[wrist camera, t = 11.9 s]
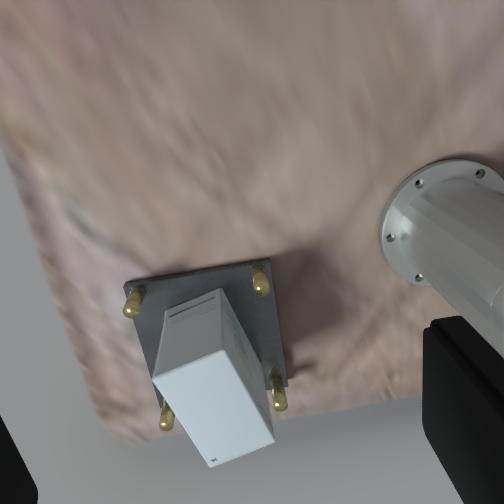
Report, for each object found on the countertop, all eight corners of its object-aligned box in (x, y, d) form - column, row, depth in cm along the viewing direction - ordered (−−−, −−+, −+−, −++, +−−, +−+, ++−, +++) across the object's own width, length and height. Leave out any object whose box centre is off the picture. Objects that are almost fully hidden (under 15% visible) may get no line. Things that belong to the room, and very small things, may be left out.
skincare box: (265, 364, 45) (278, 444, 35) (209, 386, 46) (207, 471, 36) (224, 284, 41) (226, 350, 31) (163, 309, 42) (147, 382, 32)
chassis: (268, 258, 41) (274, 279, 37) (287, 380, 47) (293, 410, 43) (125, 282, 41) (115, 306, 37) (161, 401, 47) (156, 433, 43)
